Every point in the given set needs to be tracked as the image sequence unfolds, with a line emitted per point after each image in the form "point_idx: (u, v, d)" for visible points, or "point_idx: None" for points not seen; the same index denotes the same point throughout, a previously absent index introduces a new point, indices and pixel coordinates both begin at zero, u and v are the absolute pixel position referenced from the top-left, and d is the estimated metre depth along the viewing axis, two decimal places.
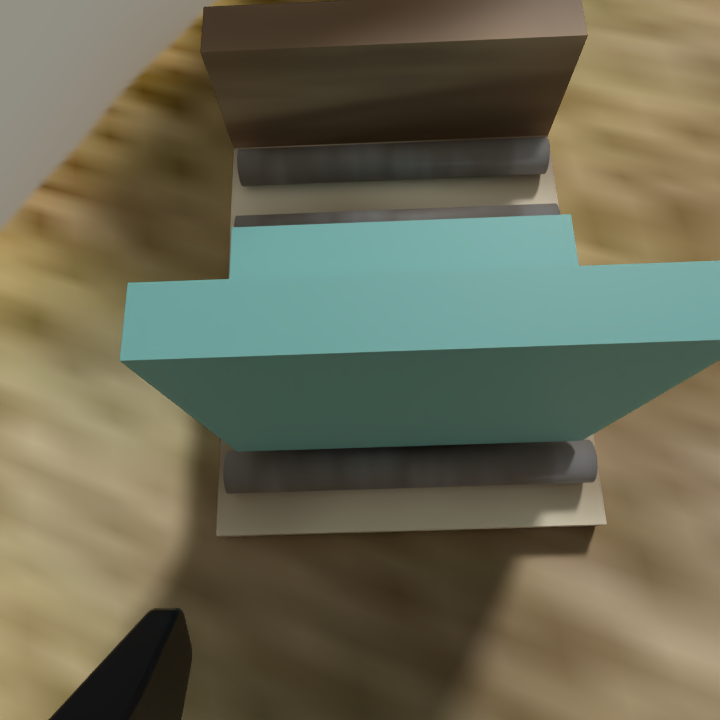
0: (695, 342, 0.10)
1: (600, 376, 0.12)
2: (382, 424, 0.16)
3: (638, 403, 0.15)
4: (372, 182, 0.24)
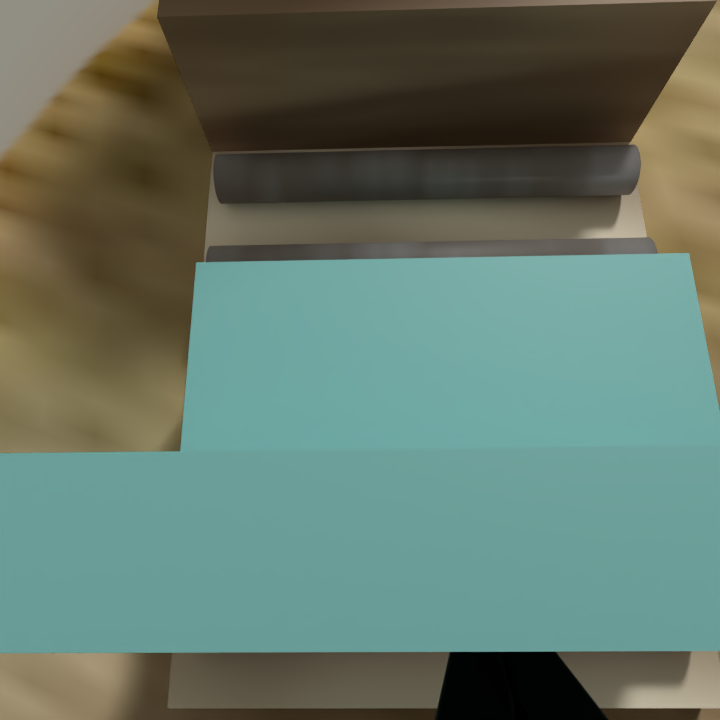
0: None
1: None
2: None
3: None
4: (395, 201, 0.18)
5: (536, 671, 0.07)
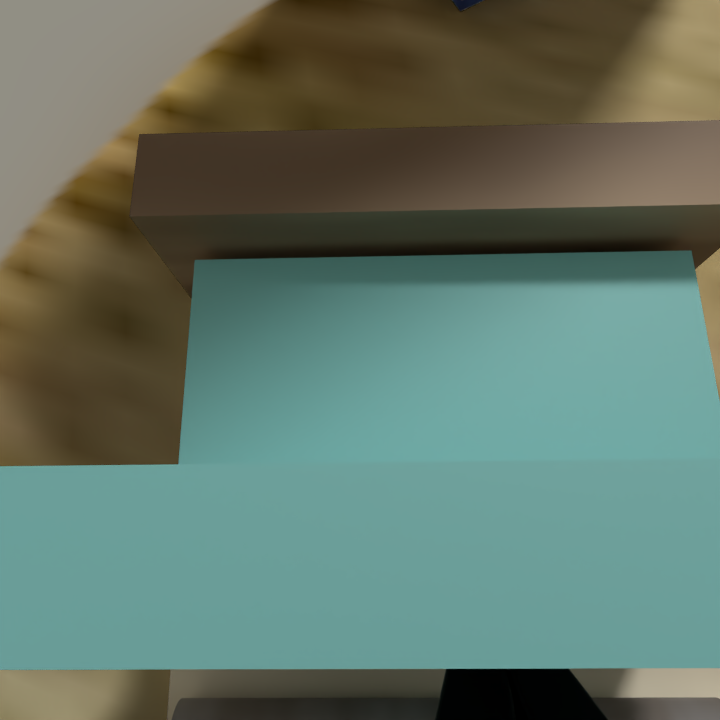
0: None
1: None
2: None
3: None
4: None
5: (536, 671, 0.07)
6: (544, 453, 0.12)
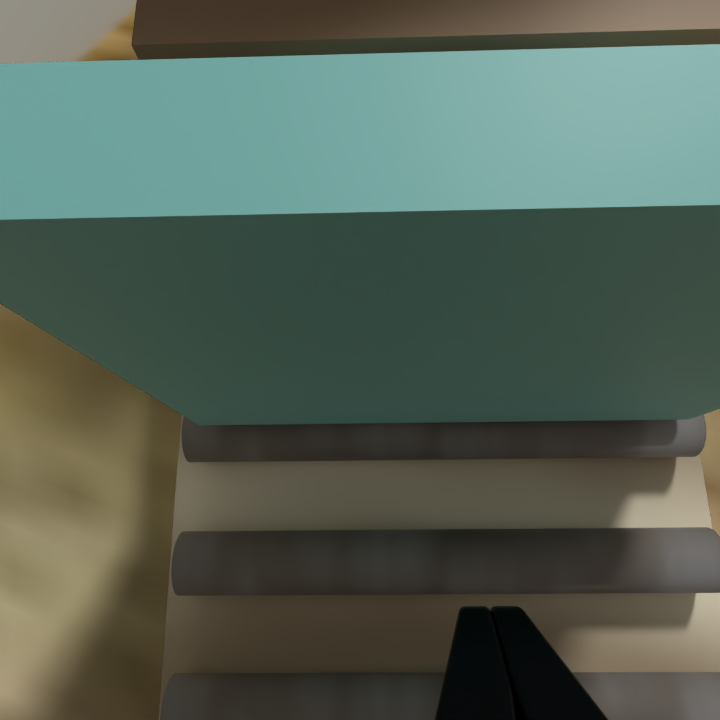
0: None
1: None
2: (412, 388, 0.10)
3: None
4: None
5: (536, 671, 0.07)
6: None
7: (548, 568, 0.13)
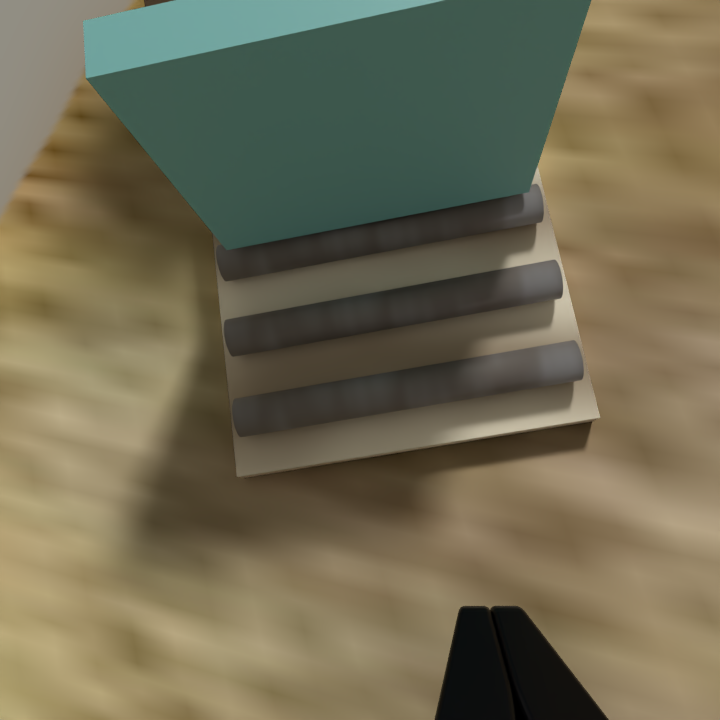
0: None
1: (495, 56, 0.14)
2: (337, 178, 0.18)
3: (550, 107, 0.17)
4: None
5: (536, 671, 0.07)
6: None
7: (451, 296, 0.21)
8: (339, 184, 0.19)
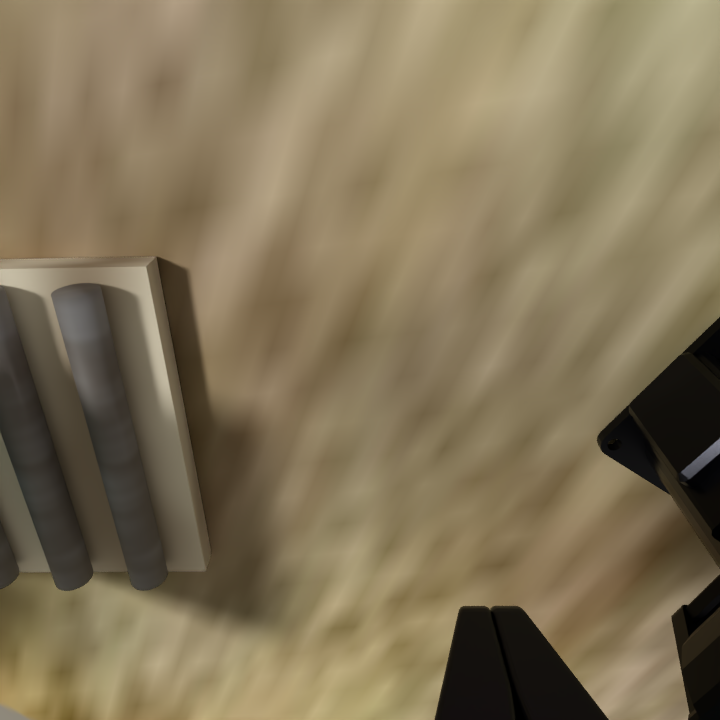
0: None
1: None
2: None
3: None
4: None
5: (536, 671, 0.07)
6: None
7: (8, 410, 0.20)
8: None
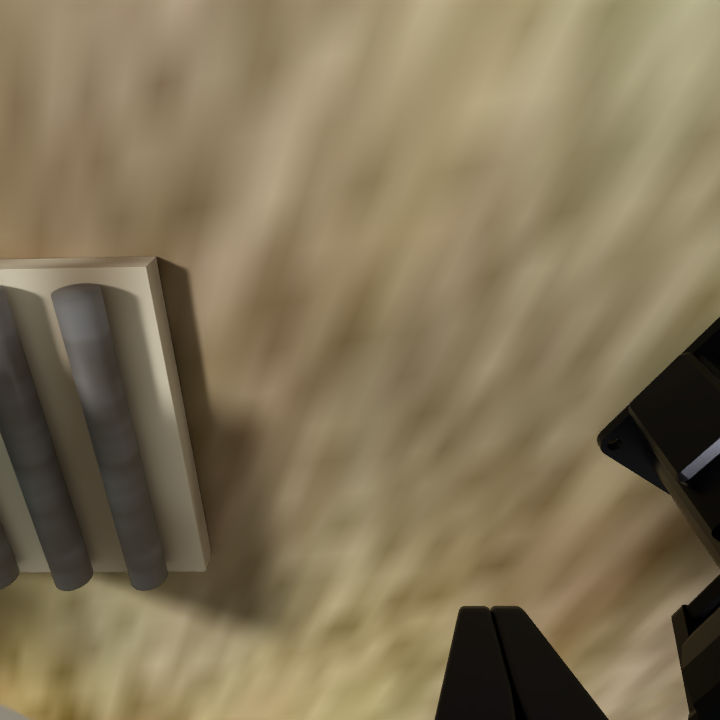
0: None
1: None
2: None
3: None
4: None
5: (536, 671, 0.07)
6: None
7: (8, 410, 0.20)
8: None
